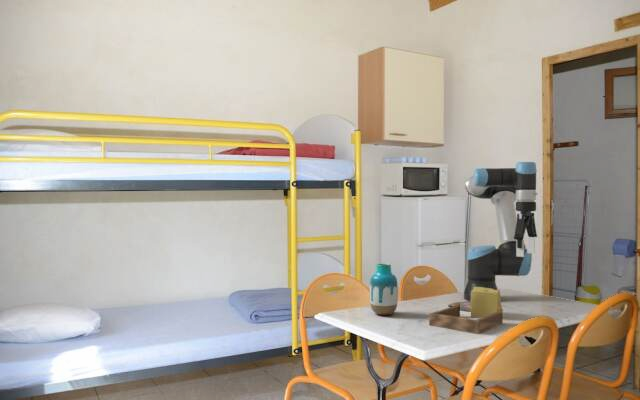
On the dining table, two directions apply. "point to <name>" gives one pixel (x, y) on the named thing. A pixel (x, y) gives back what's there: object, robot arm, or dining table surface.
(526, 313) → the dining table surface
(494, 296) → the cheese
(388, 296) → the vase
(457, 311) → the bay
